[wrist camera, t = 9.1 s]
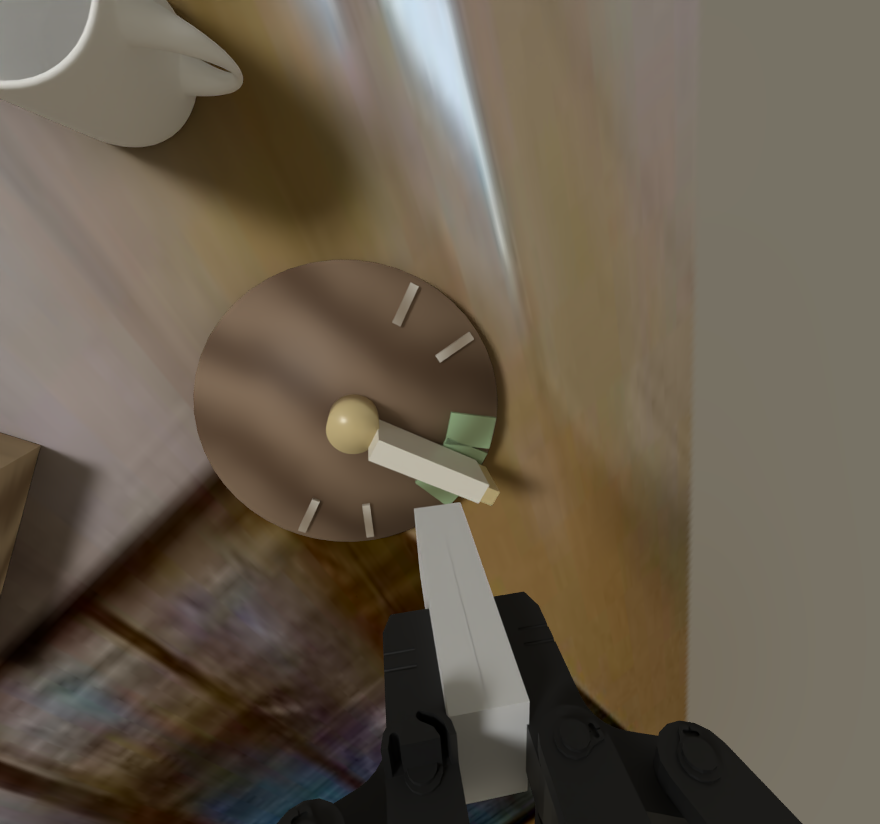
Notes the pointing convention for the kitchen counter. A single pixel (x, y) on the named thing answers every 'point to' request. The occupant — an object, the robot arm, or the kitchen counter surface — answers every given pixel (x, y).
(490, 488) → the white bar with ball
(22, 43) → the mug
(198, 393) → the dial
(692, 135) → the kitchen counter surface
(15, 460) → the block
